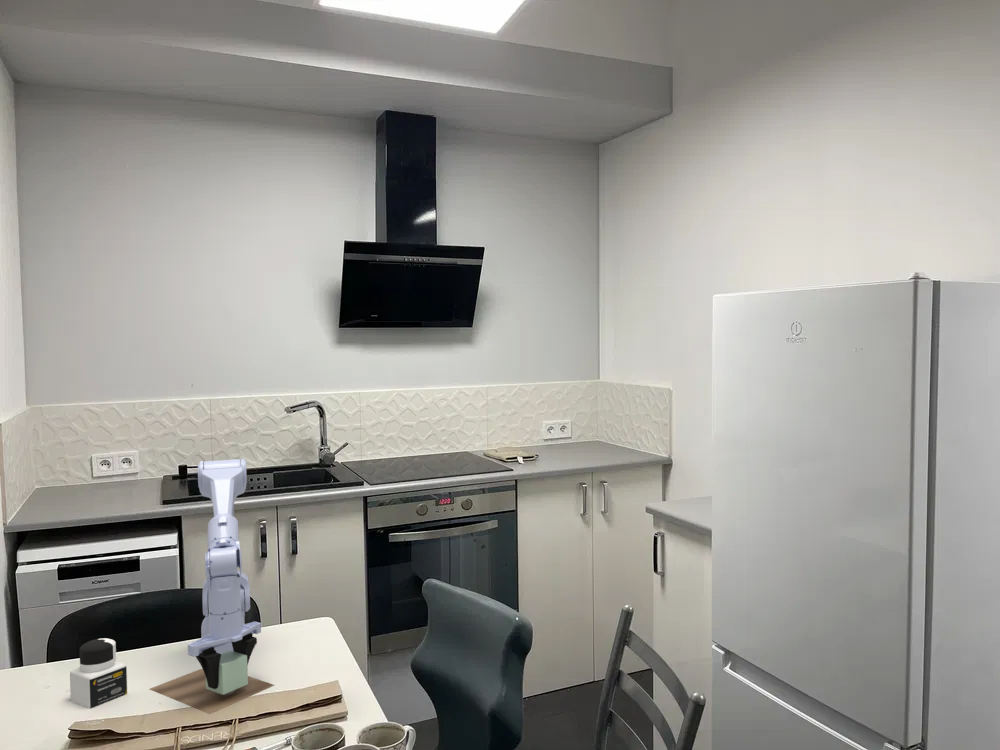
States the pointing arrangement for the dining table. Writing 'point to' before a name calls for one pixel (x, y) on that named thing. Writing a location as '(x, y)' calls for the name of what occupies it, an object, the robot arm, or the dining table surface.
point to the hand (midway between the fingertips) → (227, 681)
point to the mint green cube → (231, 672)
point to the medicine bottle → (98, 674)
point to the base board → (206, 692)
